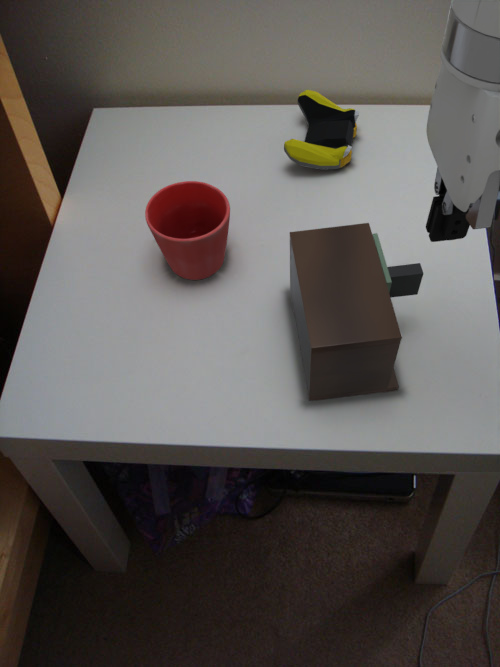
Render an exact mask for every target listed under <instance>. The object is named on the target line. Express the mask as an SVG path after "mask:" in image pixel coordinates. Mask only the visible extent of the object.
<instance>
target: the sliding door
mask: <svg viewBox="0 0 500 667" xmlns="http://www.w3.org/2000/svg"><path fill="white" fill-rule="evenodd" d="M372 235H373V239H374V242H375V245H376V249H377V252H378V256H379V259H380V263H381V266H382V270H383V273H384V277H385V280H386V284H387V287H388V290H389V294H390V297H391V299H392V298H399V297H408V296H416V295H418V294H419V290H420V288H421V284H422V280H423V277H424V271H423V268H422V267H423V266H422V265H421V263H420V262H417V263H408V264H399V265H391V266H388V265H387V262H386V258H385V255H384V252H383V251H384V250H383V248H382V244H381V240H380V237H379V234H378V233H377V232H374V233H372Z"/></svg>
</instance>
